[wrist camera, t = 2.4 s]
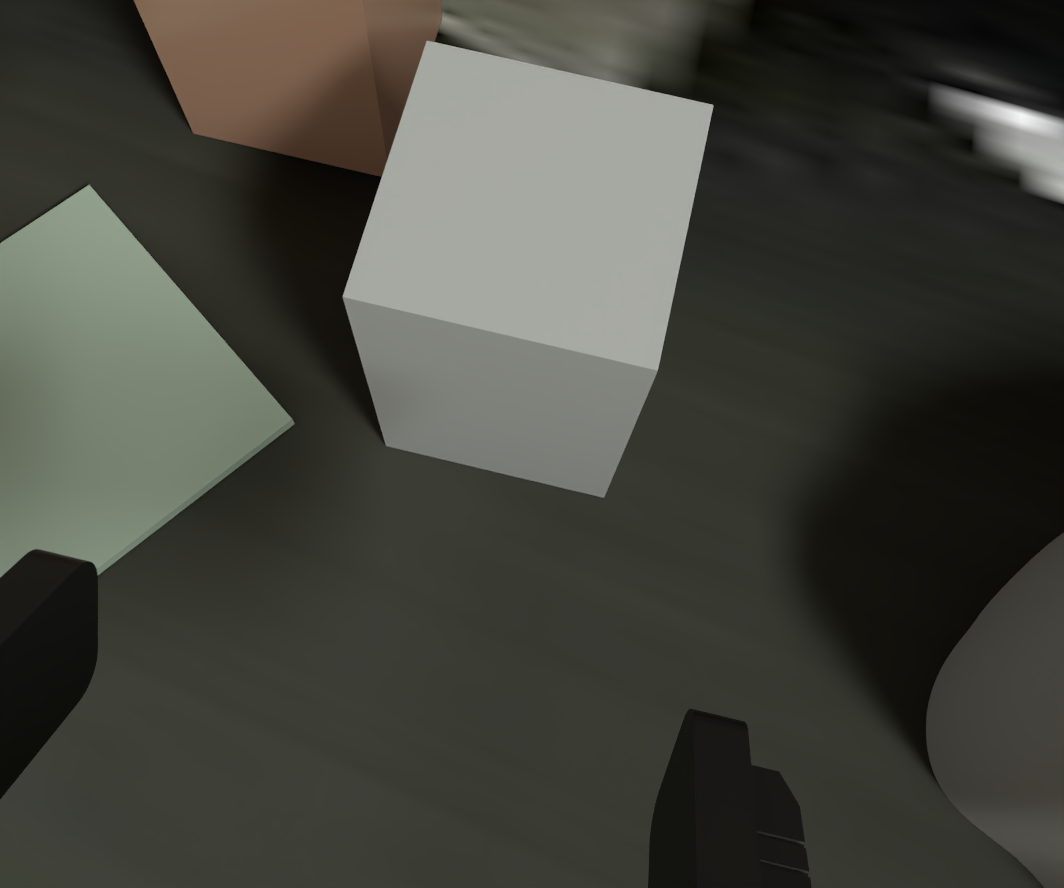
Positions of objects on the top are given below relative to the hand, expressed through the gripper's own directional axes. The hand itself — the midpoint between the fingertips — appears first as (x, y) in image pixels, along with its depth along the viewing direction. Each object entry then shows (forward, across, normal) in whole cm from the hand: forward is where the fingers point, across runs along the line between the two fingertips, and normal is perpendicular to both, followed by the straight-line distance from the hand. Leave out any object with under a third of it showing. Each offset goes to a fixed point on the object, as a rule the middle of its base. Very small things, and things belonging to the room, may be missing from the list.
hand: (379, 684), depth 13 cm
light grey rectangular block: (+17, 0, +2) cm, 17 cm away
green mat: (+14, +13, +6) cm, 20 cm away
